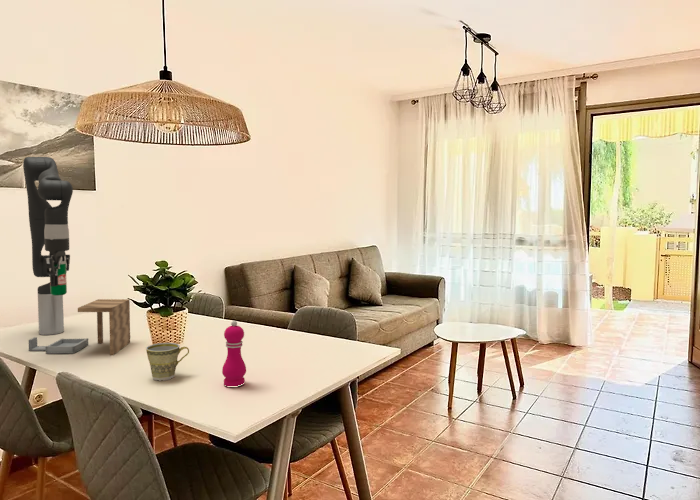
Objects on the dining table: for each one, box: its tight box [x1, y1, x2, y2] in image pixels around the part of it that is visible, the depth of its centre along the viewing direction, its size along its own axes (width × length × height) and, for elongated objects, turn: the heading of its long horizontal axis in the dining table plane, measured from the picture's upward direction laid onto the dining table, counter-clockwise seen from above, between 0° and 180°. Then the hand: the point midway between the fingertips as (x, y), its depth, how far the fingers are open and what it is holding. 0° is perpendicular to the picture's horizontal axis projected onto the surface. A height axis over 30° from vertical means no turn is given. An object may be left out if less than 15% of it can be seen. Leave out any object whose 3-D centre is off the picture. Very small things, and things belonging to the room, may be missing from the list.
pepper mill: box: [221, 320, 247, 386], centre depth 155 cm, size 7×7×20 cm
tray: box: [28, 336, 89, 354], centre depth 191 cm, size 12×18×4 cm, turn 95°
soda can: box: [49, 261, 68, 296], centre depth 179 cm, size 5×5×12 cm
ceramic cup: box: [145, 342, 190, 382], centre depth 162 cm, size 13×10×10 cm
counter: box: [77, 298, 131, 356], centre depth 193 cm, size 18×12×18 cm, turn 5°
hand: (58, 284), depth 180 cm, fingers closed on soda can, 5 cm apart
